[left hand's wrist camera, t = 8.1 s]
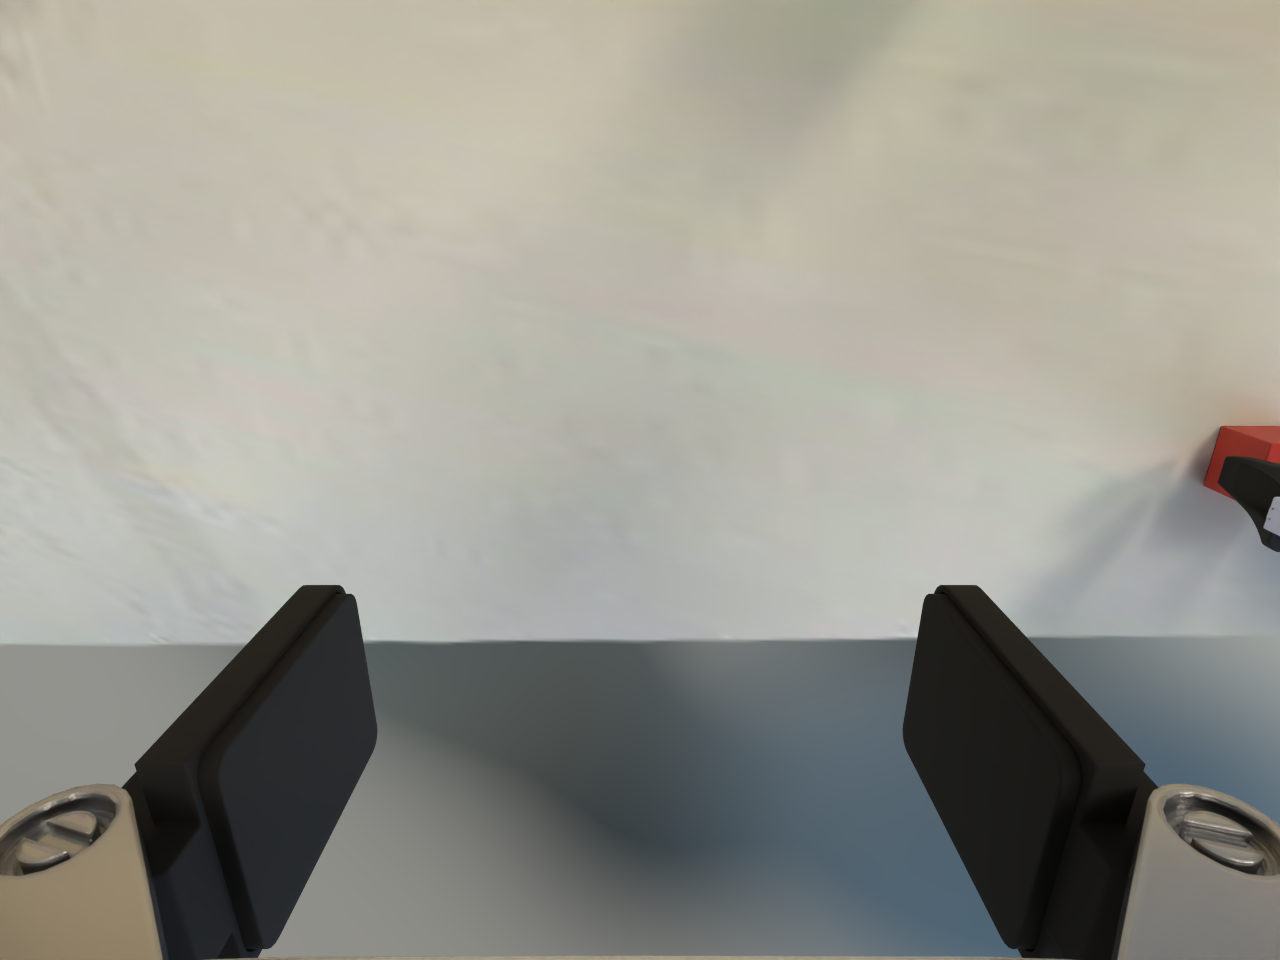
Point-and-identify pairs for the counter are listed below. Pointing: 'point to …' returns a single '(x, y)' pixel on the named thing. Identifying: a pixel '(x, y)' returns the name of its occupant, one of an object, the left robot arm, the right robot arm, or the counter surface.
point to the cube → (1242, 449)
